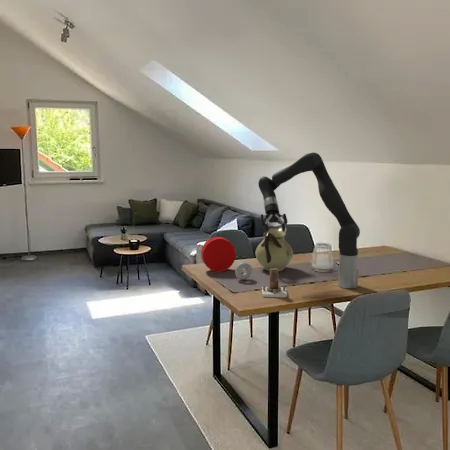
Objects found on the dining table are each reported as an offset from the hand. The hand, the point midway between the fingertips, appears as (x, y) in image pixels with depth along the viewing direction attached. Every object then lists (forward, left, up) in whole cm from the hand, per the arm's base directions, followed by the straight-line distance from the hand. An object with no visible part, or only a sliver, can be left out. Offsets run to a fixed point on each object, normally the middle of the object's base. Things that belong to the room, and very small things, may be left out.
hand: (275, 230), depth 249 cm
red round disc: (+33, -26, -29) cm, 51 cm away
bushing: (+1, +19, -27) cm, 33 cm away
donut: (+17, -5, -29) cm, 34 cm away
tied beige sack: (-1, -29, -29) cm, 41 cm away
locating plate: (+1, +19, -29) cm, 34 cm away
